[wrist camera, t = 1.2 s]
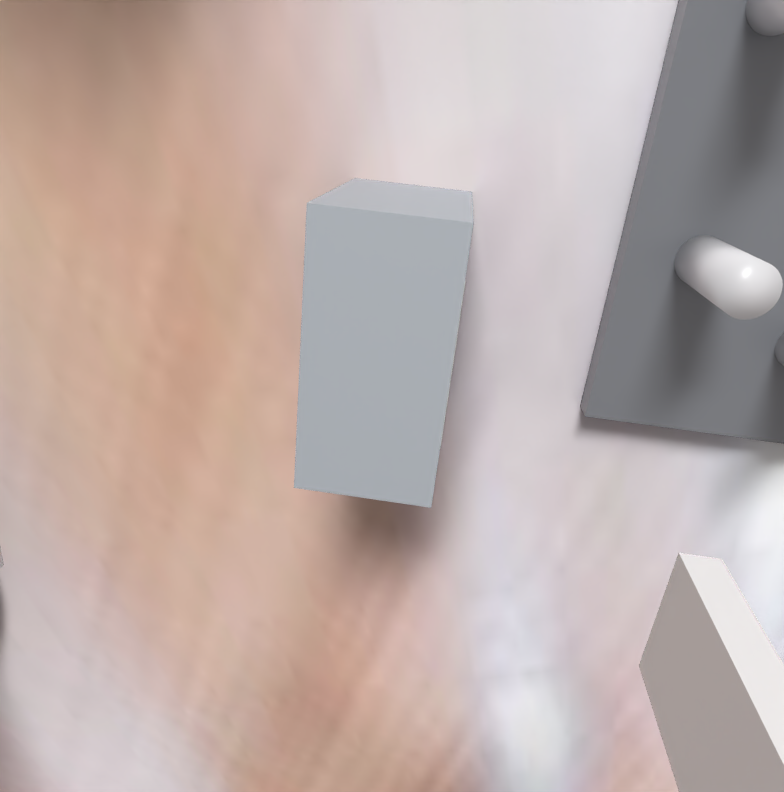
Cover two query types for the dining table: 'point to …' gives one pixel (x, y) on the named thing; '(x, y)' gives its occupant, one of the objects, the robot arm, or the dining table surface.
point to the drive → (379, 337)
